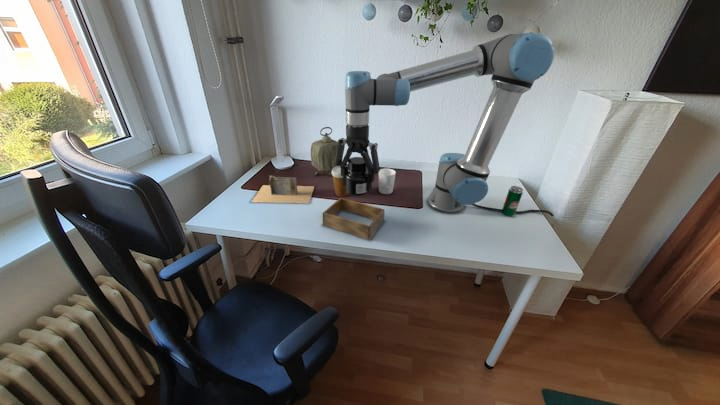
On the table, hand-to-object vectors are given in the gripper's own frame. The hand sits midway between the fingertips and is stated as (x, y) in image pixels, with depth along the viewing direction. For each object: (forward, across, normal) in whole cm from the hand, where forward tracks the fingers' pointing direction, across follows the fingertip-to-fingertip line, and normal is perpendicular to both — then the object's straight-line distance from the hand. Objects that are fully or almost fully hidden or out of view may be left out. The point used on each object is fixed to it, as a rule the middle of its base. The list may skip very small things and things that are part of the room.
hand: (357, 186), depth 99 cm
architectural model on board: (+15, +40, -5) cm, 43 cm away
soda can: (+16, -54, -35) cm, 66 cm away
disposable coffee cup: (+15, +16, -18) cm, 29 cm away
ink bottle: (+2, 0, 0) cm, 2 cm away
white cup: (+16, -1, -29) cm, 33 cm away
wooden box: (+15, 0, +2) cm, 15 cm away
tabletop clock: (+15, +33, -33) cm, 49 cm away
